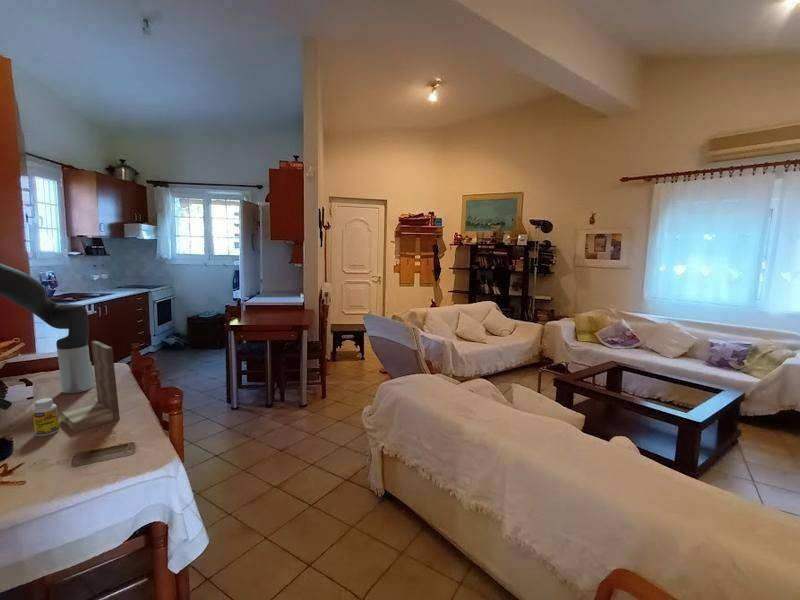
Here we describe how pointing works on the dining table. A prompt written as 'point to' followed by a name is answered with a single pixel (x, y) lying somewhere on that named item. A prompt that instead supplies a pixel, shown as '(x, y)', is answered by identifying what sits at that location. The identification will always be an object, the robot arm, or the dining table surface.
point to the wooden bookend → (106, 394)
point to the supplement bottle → (45, 417)
